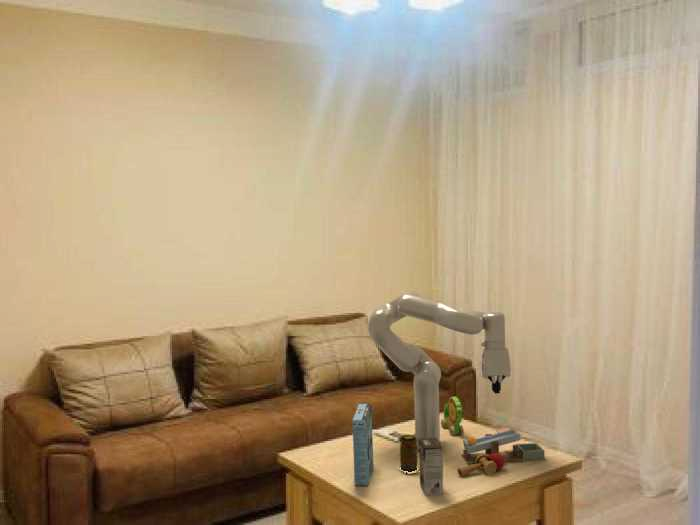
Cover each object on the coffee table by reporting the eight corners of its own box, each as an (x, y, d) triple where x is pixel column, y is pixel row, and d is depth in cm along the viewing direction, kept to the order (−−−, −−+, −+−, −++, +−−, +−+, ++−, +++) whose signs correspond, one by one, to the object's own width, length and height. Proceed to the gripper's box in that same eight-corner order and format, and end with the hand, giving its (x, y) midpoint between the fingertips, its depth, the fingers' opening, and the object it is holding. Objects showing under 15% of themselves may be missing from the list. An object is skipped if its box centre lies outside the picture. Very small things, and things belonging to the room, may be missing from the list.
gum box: (368, 486, 236) (366, 420, 234) (353, 486, 237) (351, 420, 235) (373, 464, 256) (372, 403, 254) (359, 464, 256) (358, 403, 254)
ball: (469, 449, 256) (467, 439, 256) (466, 445, 259) (465, 436, 259) (478, 446, 256) (476, 437, 256) (475, 443, 260) (474, 434, 259)
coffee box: (419, 484, 237) (418, 438, 236) (437, 483, 237) (437, 437, 236) (424, 495, 228) (423, 447, 226) (443, 494, 228) (443, 446, 227)
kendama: (467, 484, 239) (510, 468, 246) (463, 466, 239) (506, 451, 246) (456, 480, 246) (498, 465, 253) (452, 463, 246) (494, 448, 253)
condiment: (412, 464, 256) (411, 432, 254) (424, 471, 248) (424, 439, 247) (395, 467, 252) (394, 435, 251) (407, 475, 245) (406, 442, 244)
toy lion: (440, 426, 297) (439, 391, 296) (452, 425, 298) (451, 390, 297) (454, 438, 282) (453, 401, 280) (466, 437, 283) (466, 400, 282)
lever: (468, 454, 255) (466, 445, 254) (460, 442, 267) (458, 433, 267) (520, 440, 256) (518, 431, 256) (510, 429, 268) (508, 420, 268)
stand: (467, 464, 253) (467, 443, 253) (461, 455, 263) (461, 435, 262) (523, 461, 255) (523, 440, 255) (515, 452, 264) (515, 432, 264)
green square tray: (523, 460, 256) (523, 451, 256) (516, 453, 264) (516, 444, 264) (544, 459, 257) (544, 450, 256) (536, 451, 265) (536, 443, 264)
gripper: (478, 348, 259) (479, 396, 260) (517, 345, 260) (518, 393, 262) (473, 344, 266) (474, 391, 268) (511, 341, 268) (512, 388, 269)
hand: (496, 392), depth 265 cm, fingers closed
